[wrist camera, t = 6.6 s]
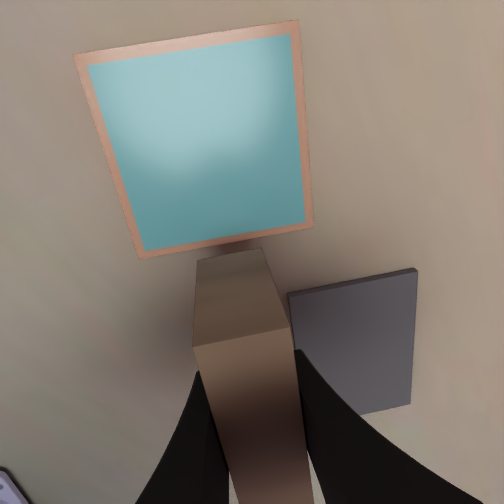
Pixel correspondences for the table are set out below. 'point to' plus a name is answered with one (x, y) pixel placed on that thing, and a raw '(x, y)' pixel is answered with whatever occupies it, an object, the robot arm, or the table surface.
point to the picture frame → (204, 135)
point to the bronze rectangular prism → (251, 378)
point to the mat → (360, 337)
